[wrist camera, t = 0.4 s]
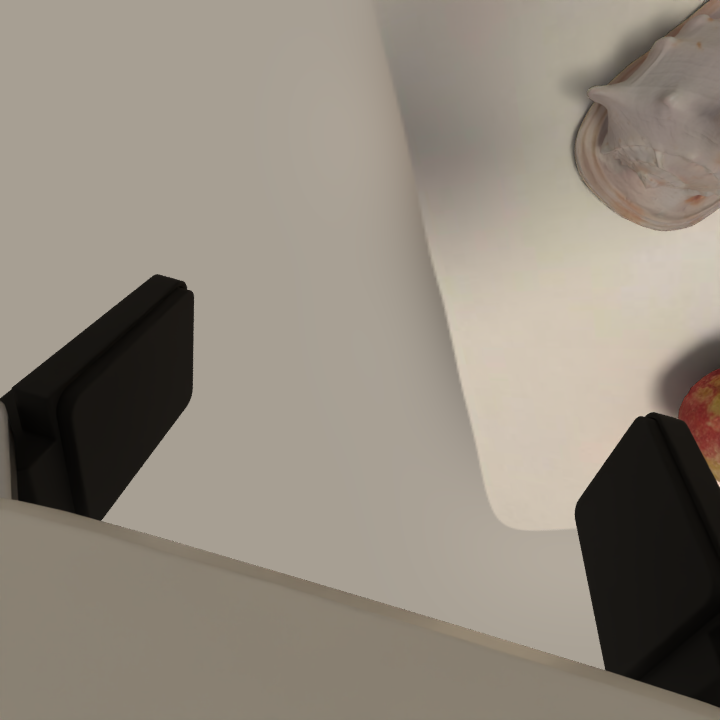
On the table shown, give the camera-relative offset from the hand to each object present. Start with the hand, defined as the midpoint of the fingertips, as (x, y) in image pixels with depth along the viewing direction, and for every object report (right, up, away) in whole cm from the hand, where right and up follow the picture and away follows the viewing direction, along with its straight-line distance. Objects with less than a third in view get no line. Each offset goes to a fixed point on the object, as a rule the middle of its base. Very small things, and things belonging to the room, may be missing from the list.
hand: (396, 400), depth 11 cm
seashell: (+15, +14, +13) cm, 24 cm away
